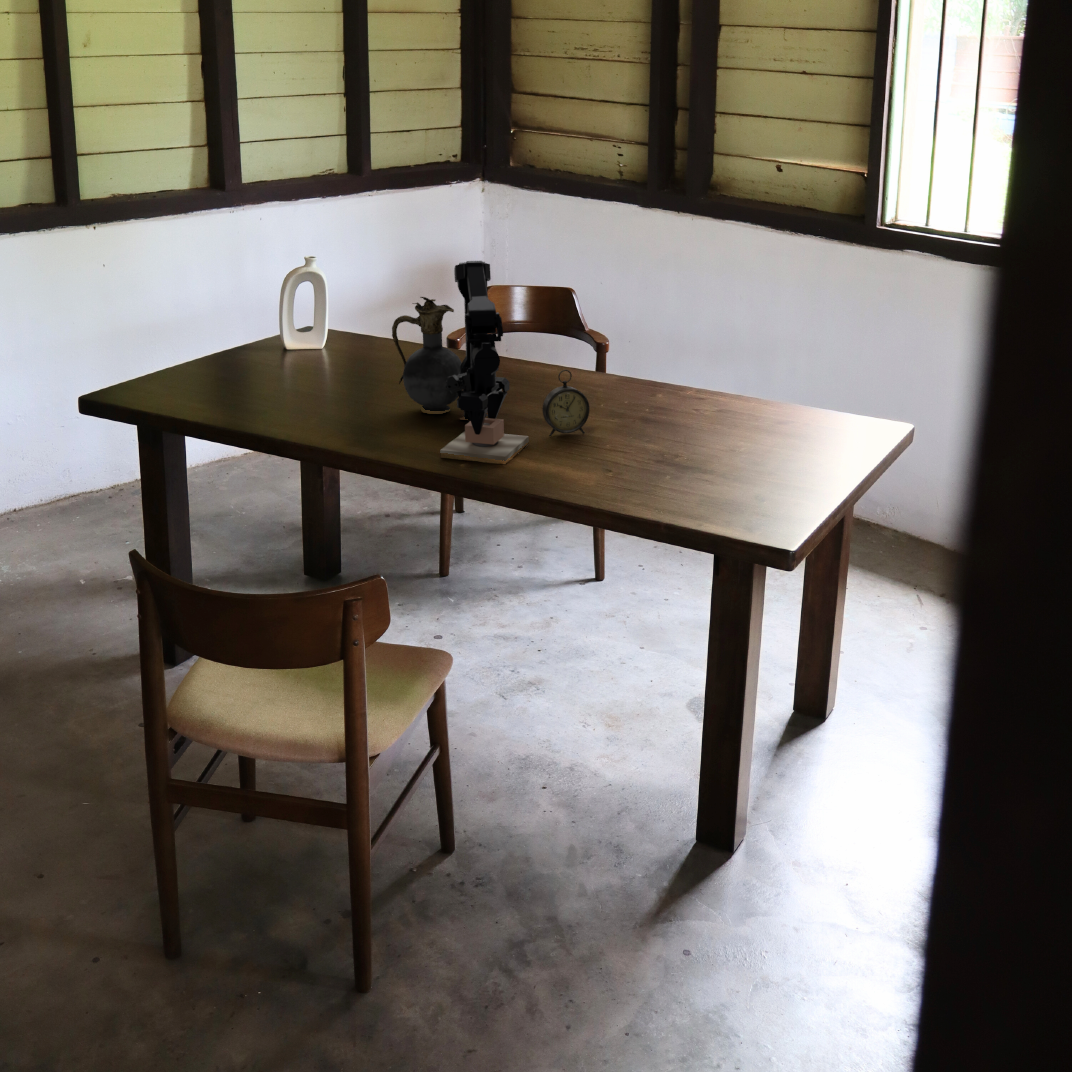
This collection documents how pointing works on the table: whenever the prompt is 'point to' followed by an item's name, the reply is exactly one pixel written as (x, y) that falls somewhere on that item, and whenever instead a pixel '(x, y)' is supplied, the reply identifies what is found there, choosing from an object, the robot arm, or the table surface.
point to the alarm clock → (566, 408)
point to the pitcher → (429, 359)
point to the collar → (486, 432)
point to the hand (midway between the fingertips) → (484, 428)
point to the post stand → (486, 447)
